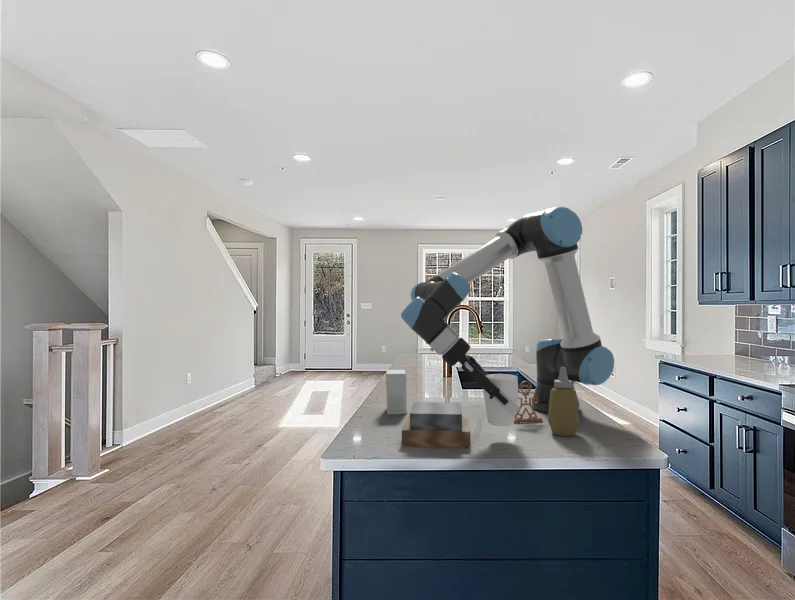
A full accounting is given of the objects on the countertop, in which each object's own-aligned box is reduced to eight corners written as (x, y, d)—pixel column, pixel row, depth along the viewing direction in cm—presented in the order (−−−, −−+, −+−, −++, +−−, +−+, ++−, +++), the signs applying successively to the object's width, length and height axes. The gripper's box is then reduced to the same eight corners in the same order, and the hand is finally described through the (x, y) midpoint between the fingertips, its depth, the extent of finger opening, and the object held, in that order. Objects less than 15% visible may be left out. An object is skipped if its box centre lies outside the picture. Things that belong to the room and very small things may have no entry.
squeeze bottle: (564, 439, 126) (563, 370, 126) (541, 432, 133) (541, 366, 133) (586, 435, 130) (585, 368, 130) (563, 428, 137) (562, 364, 137)
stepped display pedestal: (468, 431, 135) (468, 402, 135) (470, 447, 120) (470, 415, 120) (407, 429, 137) (406, 401, 137) (401, 446, 122) (401, 414, 122)
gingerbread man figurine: (536, 418, 148) (536, 379, 148) (542, 421, 144) (542, 381, 144) (509, 420, 147) (509, 380, 147) (514, 423, 143) (514, 382, 143)
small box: (386, 408, 163) (386, 369, 163) (405, 408, 163) (405, 369, 163) (386, 414, 155) (386, 373, 155) (406, 414, 155) (406, 373, 155)
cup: (516, 418, 130) (515, 373, 130) (521, 427, 122) (520, 379, 121) (482, 418, 131) (481, 373, 131) (484, 427, 122) (484, 379, 122)
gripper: (441, 351, 139) (499, 407, 137) (439, 362, 117) (508, 429, 116) (459, 332, 138) (517, 388, 137) (461, 340, 116) (530, 407, 115)
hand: (513, 407), depth 126 cm, fingers closed on cup, 9 cm apart
